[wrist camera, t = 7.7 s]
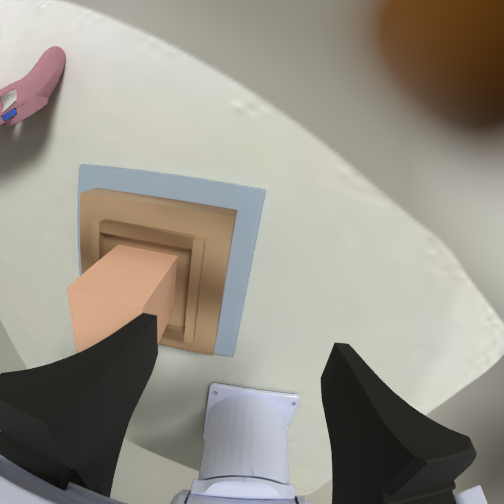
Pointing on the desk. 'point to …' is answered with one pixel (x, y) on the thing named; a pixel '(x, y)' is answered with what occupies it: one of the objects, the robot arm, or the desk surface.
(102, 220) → the walnut plinth
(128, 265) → the terracotta block
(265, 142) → the desk surface
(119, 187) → the mat
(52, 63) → the video game controller
